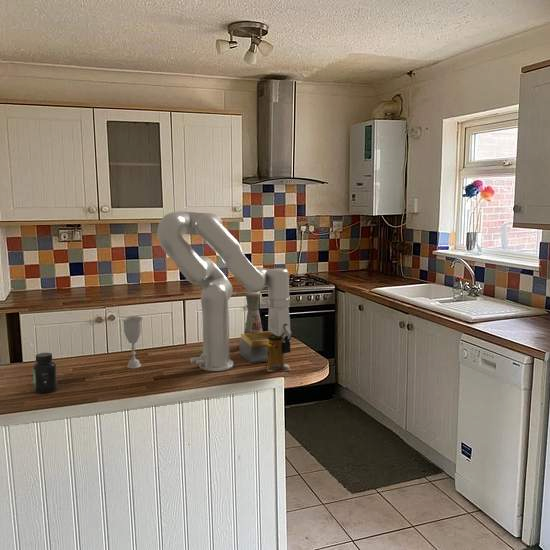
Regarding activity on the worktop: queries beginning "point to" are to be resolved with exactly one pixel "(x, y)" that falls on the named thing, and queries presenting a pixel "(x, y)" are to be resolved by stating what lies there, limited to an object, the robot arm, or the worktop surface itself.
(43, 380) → the supplement bottle
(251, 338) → the gold-rimmed square tray
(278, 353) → the condiment
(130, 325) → the chalice
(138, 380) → the worktop surface
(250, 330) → the bottle
